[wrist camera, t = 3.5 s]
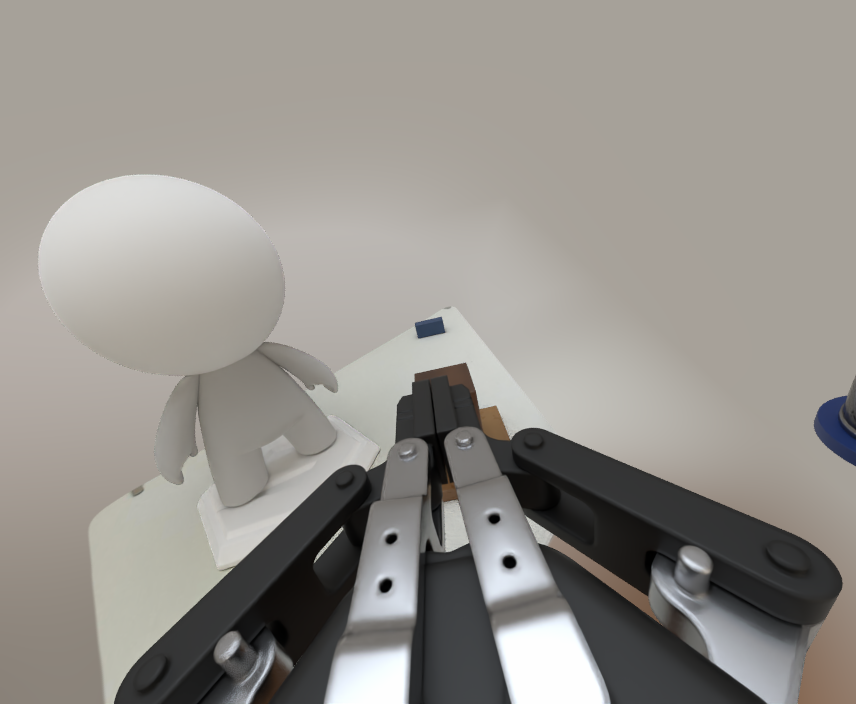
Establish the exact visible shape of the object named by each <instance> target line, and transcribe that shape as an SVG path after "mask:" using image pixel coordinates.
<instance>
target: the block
mask: <svg viewBox="0 0 856 704" xmlns="http://www.w3.org/2000/svg"><path fill="white" fill-rule="evenodd" d="M444 375H447V377H448V381H449V386H453V385H458V384H463V385H464V386H466V387H467V388H468V389H469V391H470V394H471V397H472V401H473V404H474V407H475V410H476V414H477V417H478V420H479V423H480V426H481V429H482V431H483V432H484V433H485V434H486V435H487V436H489V437H491V438H493V439H497V440H510V438H509V436H508V433H507V431H506V429H505V426H504V424H503V421H502V419H501V416H500V414H499V411H498V409H497V406H493V407H488V408H483V409H479V406H478V401H477V395H476V390H475V387H474V384H473V382H472V379H471V376H470V373H469V370H468V367H467V364H466V363H462V364H458V365H453V366H448V367H444V368H439V369H435V370H430V371H426V372H421V373H417V374H415V382H417V381H421V380H426V379H429V380H430V379H431V378H435V377H439V376H444ZM430 383H431V380H430ZM446 471H447V469H446ZM447 478H448V484H444V485H442V491H443V497H442V499H443V502H445V501H450V500H455V499H458V497H457V493H456V489H455V485H454V482H453V483H450V481H449V477H448V473H447Z"/></svg>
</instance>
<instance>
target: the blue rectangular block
mask: <svg viewBox="0 0 856 704" xmlns="http://www.w3.org/2000/svg"><path fill="white" fill-rule="evenodd" d="M415 327H416V331H417V335H418V338H422V337H427V336H431V335H436V334H440V333H444V332H445V329H444V324H443V320H442V317H438V318H434V319H430V320H425V321H421V322H417V323H415Z"/></svg>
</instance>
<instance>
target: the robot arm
mask: <svg viewBox="0 0 856 704" xmlns="http://www.w3.org/2000/svg"><path fill="white" fill-rule="evenodd" d="M430 380H431V383H430ZM430 380H429V379H426V380H421V381H417V382H412V395H407V396H403V397H402V398H401V400H400V401H399V403H398V404H397V419H396V420H397V421H396V440H395V445H394V446H393V447H392V448H391V449H390V451H389V453H388V457H387V461H385V462H384V463H383V464H381V465H379V466H377V467H375V468H373V469H371V470H369V471H367V472H366V470H365V469H364V468H363V467H362V466H360V465H347V466H344V467H342V468H340V469H338V470H336V471H335V472H334V473H333V474H331V475H330V476H329V477H328V478H327V479H326V480H325V481H324V482H323V483H322V484H321V485H320V486H319V487H318V488H317V489H316V490H315V491H314V492H313V493H312V494H311V495H309V496H308V497H307V498H306V499H305V500H304V501H303V502H302V503H301V504H300V505H299V506H298V507H297V508H296V509H295V510H294V511H293V512H292V513H291V514H290V515H289V516H288V517H287V518H285V519H284V520H283V521H282V522H281V523H280V524H279V525H278V526H277V527H276V528H275V529H274V530H273V531H272V532H271V533H270V534H269V535H268V536H267V537H266V538H265V539H264V540H263V541H261V542H260V543H259V544H258V545H257V546H256V547H255V548H254V549H253V550H252V551H251V552H250V553H249V554H248V555H247V556H246V557H245V558H244V559H243V560H242V561H241V562H240V563H238V564H237V565H236V566H235V567H234V568H233V569H232V570H231V571H230V572H229V573H228V574H227V575H226V576H225V577H224V578H223V579H222V580H221V581H220V582H219V583H218V584H217V585H216V586H214V587H213V588H212V589H211V590H210V591H209V592H208V593H207V594H206V595H205V596H204V597H203V598H202V599H201V600H200V601H199V602H198V603H197V604H196V605H195V606H194V607H193V608H192V609H190V610H189V611H188V612H187V613H186V614H185V615H184V616H183V617H182V618H181V619H180V620H179V621H178V622H177V623H176V624H175V625H174V626H173V627H172V628H171V629H170V630H169V631H168V632H166V633H165V634H164V635H163V636H162V637H161V638H160V639H159V640H158V641H157V642H156V643H155V644H154V645H153V646H152V647H151V648H150V649H149V650H148V651H147V652H146V653H145V654H144V655H143V656H142V657H141V658H140V659H139V660H138V661H137V662H136V663H135V664H134V665H133V667H132V668H131V669H130V671H129V672H128V673H127V675H126V677H125V678H124V680H123V682H122V683H121V685H120V687H119V689H118V692H117V694H116V698H115V701H114V704H797V702H798V697H799V691H800V685H801V679H802V673H803V667H804V661H805V655H806V652H807V651H808V649H809V647H810V645H811V643H812V641H813V640H814V638H815V636H816V634H817V633H818V630H819V629H820V627H821V626H822V624H823V622H824V620H825V618H826V617H827V615H828V613H829V611H830V609H831V607H832V606H833V604H834V602H835V601H836V598H837V597H838V595H839V593H840V591H841V590H842V577H841V575H840V573H839V571H838V569H837V568H836V566H835V565H834V563H833V562H832V561H831V560H830V559H829V558H828V557H827V556H826V555H825V554H824V553H823V552H822V551H820V550H819V549H818V548H817V547H815V546H814V545H812V544H811V543H809V542H808V541H806V540H804V539H802V538H800V537H798V536H796V535H794V534H792V533H789V532H787V531H785V530H782V529H780V528H777V527H775V526H773V525H770V524H768V523H765V522H763V521H761V520H758V519H756V518H754V517H751V516H749V515H746V514H744V513H742V512H739V511H737V510H734V509H732V508H730V507H727V506H725V505H722V504H720V503H718V502H715V501H713V500H711V499H708V498H706V497H703V496H701V495H699V494H696V493H694V492H691V491H689V490H687V489H684V488H682V487H680V486H677V485H675V484H673V483H670V482H668V481H665V480H663V479H661V478H658V477H656V476H654V475H651V474H648V473H646V472H644V471H642V470H639V469H637V468H634V467H632V466H630V465H627V464H625V463H622V462H620V461H618V460H615V459H613V458H611V457H608V456H606V455H603V454H601V453H599V452H596V451H594V450H592V449H589V448H587V447H584V446H582V445H580V444H577V443H575V442H573V441H570V440H568V439H565V438H563V437H561V436H558V435H556V434H553V433H551V432H549V431H546V430H543V429H539V428H527V429H523V430H521V431H519V432H517V433H516V434H515V435H514V436H513V438H512V440H497V439H493V438H491V437H489V436H487V435H486V434H485V433H484V432H483V431H482V429H481V426H480V423H479V420H478V417H477V414H476V410H475V407H474V404H473V401H472V397H471V394H470V391H469V389H468V388H467V387H466V386H464V385H463V384H458V385H453V386H449V381H448V377H447V375H444V376H439V377H435V378H431V379H430ZM838 421H839V423H840V425H841V427H842V428H843V429H844V430H845V431H846V432H847V433H848V434H849V435H850V436H852V437H853V438H854V439H856V376H855V379H854V381H853V383H852V386H851V388H850V391H849V393H848V396H847V398H846V401H845V403H844V404H843V405H842V407H841V409H840V411H839V414H838ZM446 469H447V471H446ZM447 473H448V477H449V481H450V483H453V482H454V485H455V489H456V493H457V497H458V501H459V505H460V508H461V512H462V516H463V520H464V524H465V528H466V532H467V536H468V539H469V543H468V544H466V545H464V546H462V547H460V548H458V549H456V550H454V551H451V552H445V522H444V502H443V499H442V497H443V491H442V485H444V484H448V478H447ZM525 515H526V516H527V517H528V518H530V519H531V520H533V521H534V522H536V523H537V524H539V525H540V526H542V527H543V528H545V529H546V530H548V531H549V532H551V533H552V534H554V535H556V536H557V537H559V538H560V539H562V540H563V541H565V542H566V543H568V544H569V545H571V546H572V547H574V548H575V549H577V550H578V551H580V552H581V553H583V554H585V555H586V556H587V557H589V558H591V559H592V560H593V561H595V562H597V563H598V564H600V565H601V566H603V567H604V568H606V569H607V570H609V571H610V572H612V573H613V574H615V575H616V576H618V577H619V578H621V579H622V580H624V581H625V582H627V583H628V584H630V585H632V586H633V587H634V588H636V589H638V590H639V591H641V592H642V593H644V594H645V595H647V596H648V598H649V603H650V606H651V609H652V611H653V613H654V614H655V616H656V618H657V619H658V620H659V622H660V623H661V624H662V625H663V626H662V625H661V624H659V623H658V622H657V621H655V620H654V619H653V618H651V617H650V616H649V615H647V614H646V613H645V612H643V611H641V610H640V609H639V608H638V607H636V606H635V605H634V604H632V603H631V602H629V601H628V600H627V599H625V598H624V597H623V596H621V595H620V594H619V593H617V592H616V591H614V590H613V589H612V588H610V587H609V586H608V585H606V584H605V583H603V582H602V581H601V580H599V579H598V578H597V577H595V576H594V575H593V574H591V573H590V572H588V571H587V570H586V569H584V568H583V567H582V566H580V565H579V564H578V563H576V562H575V561H574V560H572V559H571V558H569V557H568V556H566V555H564V554H562V553H561V552H559V551H557V550H555V549H553V548H551V547H548V546H546V545H542V544H539V543H537V541H536V539H535V536H534V534H533V532H532V530H531V528H530V525H529V523H528V521H527V519H526V517H525ZM341 527H343V529H344V530H343V531H342V532H341V533H340V534H339V536H338V537H337V538H336V539H335V540H334V541H333V542H332V544H331V545H330V546H329V547H328V548H327V549H326V550H325V552H324V553H323V554H322V555H321V556H320V557H319V558H318V560H317V561H316V562H315V563H314V560H315V558H316V556H317V554H318V553H319V552H320V550H321V549H322V548H323V547H324V546H325V545H326V544H327V543H328V541H329V540H330V539H331V538H332V537H333V536H334V535H335V534H336V532H337V531H338V530H339V529H340V528H341ZM354 585H355V586H354ZM298 660H299V661H298ZM295 664H296V665H295ZM293 667H294V668H293Z"/></svg>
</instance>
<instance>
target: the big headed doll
mask: <svg viewBox="0 0 856 704" xmlns="http://www.w3.org/2000/svg"><path fill="white" fill-rule="evenodd" d="M38 270H39V277H40V282H41V286H42V289H43V292H44V294H45V297H46V299H47V301H48V303H49V305H50V307H51V309H52V310H53V312H54V314H55V315H56V316H57V318H58V319H59V321H60V322H61V323H62V324H63V325H64V327H65V328H66V329H67V330H68V331H69V332H70V333H71V334H72V335H73V336H74V337H75V338H77V339H78V340H79V341H80V342H81V343H83V344H84V345H85V346H87V347H88V348H89V349H91V350H92V351H94V352H96V353H97V354H99V355H101V356H102V357H104V358H106V359H108V360H110V361H112V362H115V363H117V364H119V365H122V366H125V367H128V368H131V369H134V370H137V371H141V372H146V373H151V374H158V375H169V376H185V377H184V378H182V379H181V380H180V382H179V383H178V384H177V386H176V387H175V389H174V390H173V392H172V394H171V395H170V398H169V400H168V401H167V404H166V406H165V408H164V411H163V414H162V416H161V420H160V423H159V426H158V430H157V435H156V439H155V448H154V456H155V462H156V465H157V468H158V470H159V472H160V474H161V475H162V476H163V477H164V478H165V479H166V480H167V481H169V482H171V483H173V484H176V485H181V484H182V483H183V482H184V477H183V474H182V471H181V469H182V467H183V465H184V463H185V461H186V460H187V458H188V457H189V456H191V457H194V456H196V455H197V453H198V449H197V446H196V441H195V420H196V410H197V406H198V415H199V421H200V426H201V431H202V436H203V441H204V446H205V450H206V455H207V459H208V463H209V466H210V470H211V473H212V476H213V479H214V483H213V484H212V485H211V486H210V487H209V488H208V489H207V490H206V491H205V492H204V493H203V494H202V495H201V497H200V499H199V502H198V504H197V508H198V511H199V514H200V517H201V520H202V523H203V526H204V529H205V532H206V536H207V539H208V542H209V545H210V548H211V551H212V554H213V557H214V560H215V563H216V566H217V568H218V569H219V570H220V571H221V570H224V569H227V568H230V567H233V566H236V565H237V564H238V563H240V562H241V561H242V560H243V559H244V558H245V557H246V556H247V555H248V554H249V553H250V552H251V551H252V550H253V549H254V548H255V547H256V546H257V545H258V544H259V543H260V542H261V541H263V540H264V539H265V538H266V537H267V536H268V535H269V534H270V533H271V532H272V531H273V530H274V529H275V528H276V527H277V526H278V525H279V524H280V523H281V522H282V521H283V520H284V519H285V518H287V517H288V516H289V515H290V514H291V513H292V512H293V511H294V510H295V509H296V508H297V507H298V506H299V505H300V504H301V503H302V502H303V501H304V500H305V499H306V498H307V497H308V496H309V495H311V494H312V493H313V492H314V491H315V490H316V489H317V488H318V487H319V486H320V485H321V484H322V483H323V482H324V481H325V480H326V479H327V478H328V477H329V476H330V475H331V474H333V473H334V472H335V471H336V470H338V469H340V468H342V467H344V466H347V465H360V466H362V467H363V468H364V469H365V470H366V472H367V471H368V470H369V469H370V467H371V465H372V463H373V461H374V460H375V458H376V456H377V454H378V453H379V451H380V448H379V446H378V445H377V444H375V443H374V442H373V441H371V440H370V439H368V438H367V437H366V436H364V435H363V434H361V433H360V432H358V431H357V430H356V429H354V428H353V427H351V426H350V425H349V424H347V423H346V422H344V421H343V420H342V419H340V418H339V417H337V416H334V415H328V416H325V415H324V414H323V412H322V411H321V410H320V408H319V407H318V406H317V405H316V404H315V402H314V401H313V400H312V399H311V398H310V397H309V396H308V394H307V393H306V392H305V391H304V390H303V389H302V388H301V387H300V386H299V385H298V384H297V383H296V382H295V381H294V380H293V379H292V377H291V376H289V374H288V373H287V372H285V371H284V370H283V369H282V368H284V369H285V370H287V371H289V372H290V373H292V374H293V375H294V376H296V377H297V378H299V379H300V380H301V381H302V382H303V383H304V384H305V386H306V387H307V388H308V389H309V390H314V388H315V387H314V385H319V384H322V385H323V386H324V387H325V388H327V389H328V390H330V391H332V392H334V393H337V391H338V383H337V379H336V377H335V375H334V374H333V372H332V371H331V369H330V368H329V367H328V366H327V365H325V364H324V363H323V362H322V361H320V360H318V359H316V358H315V357H313V356H311V355H309V354H307V353H305V352H303V351H300V350H298V349H295V348H293V347H289V346H286V345H282V344H278V343H272V342H264V341H265V340H266V339H267V338H268V336H269V335H270V334H271V332H272V331H273V329H274V327H275V326H276V324H277V322H278V320H279V317H280V314H281V311H282V308H283V304H284V297H285V280H284V272H283V268H282V264H281V261H280V258H279V255H278V253H277V251H276V249H275V247H274V245H273V243H272V241H271V240H270V238H269V237H268V235H267V234H266V232H265V231H264V230H263V228H262V227H261V226H260V225H259V224H258V222H257V221H256V220H255V219H254V218H253V217H252V216H251V215H250V214H248V212H246V211H245V210H244V209H243V208H242V207H240V206H239V205H238V204H236V203H235V202H233V201H232V200H230V199H229V198H227V197H226V196H224V195H222V194H220V193H219V192H216V191H214V190H213V189H210V188H208V187H206V186H203V185H201V184H198V183H195V182H192V181H189V180H185V179H180V178H175V177H170V176H163V175H149V174H148V175H147V174H142V175H128V176H121V177H117V178H112V179H108V180H105V181H102V182H99V183H96V184H94V185H91V186H90V187H87V188H85V189H83V190H82V191H80V192H79V193H77V194H76V195H74V196H73V197H71V198H70V199H69V200H67V201H66V202H65V203H64V204H63V205H62V206H61V207H60V208H59V209H58V210H57V212H56V213H55V214H54V215H53V217H52V218H51V220H50V222H49V223H48V225H47V227H46V229H45V231H44V234H43V236H42V239H41V243H40V247H39V255H38ZM281 367H282V368H281Z"/></svg>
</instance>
